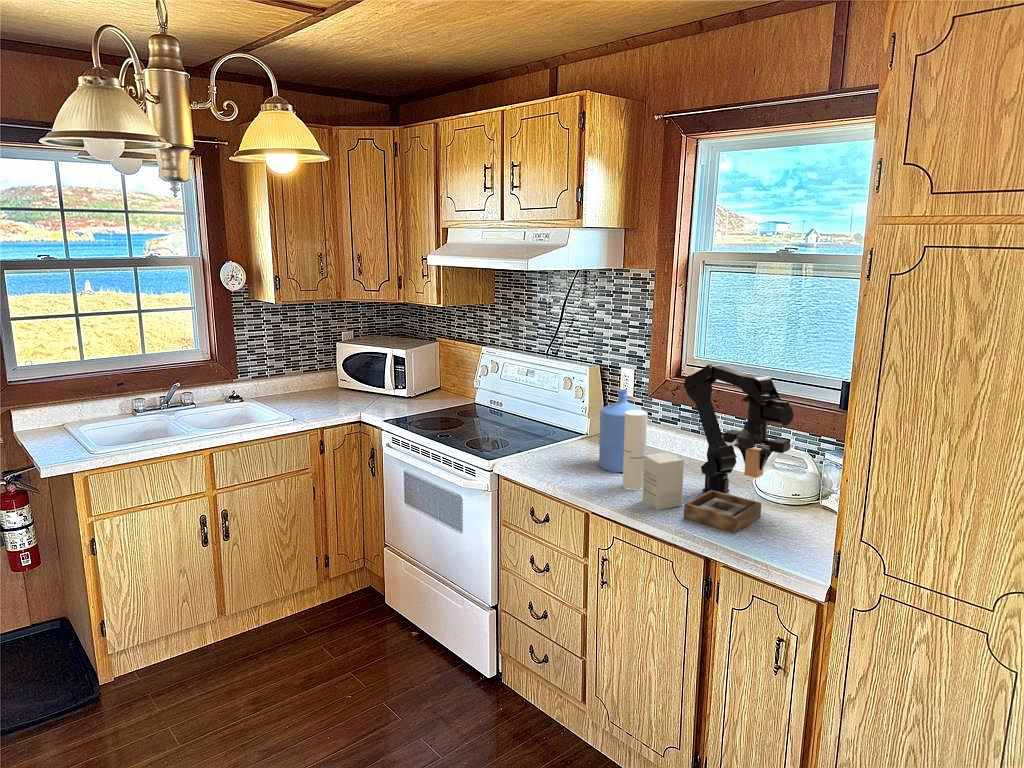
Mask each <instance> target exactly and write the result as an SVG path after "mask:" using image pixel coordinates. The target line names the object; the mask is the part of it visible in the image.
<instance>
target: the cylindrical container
mask: <svg viewBox="0 0 1024 768" xmlns="http://www.w3.org/2000/svg"><path fill="white" fill-rule="evenodd" d="M647 431H648V411H645V410H643V411H641V410H629V411H626V412H625V430H624V462H623V473H622V487H623V486H624V487H626V488H630V489H640V488H643V471H644V455H647V434H648V432H647ZM624 487H623V488H624ZM626 488H625V489H626ZM630 489H629V490H630Z"/></svg>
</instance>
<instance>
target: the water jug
mask: <svg viewBox="0 0 1024 768" xmlns="http://www.w3.org/2000/svg"><path fill="white" fill-rule="evenodd" d="M617 399H618V400H617V401H616V402H613V403H611V404H608V405H606V406H603V407H602V408H601V409H600V414H599V439H598V441H599V443H598V444H599V453H598V454H599V456H598V466H599V467H600V468H601V469H602V468H603V469H602V470H604V469H605V470H604V471H607V470H608V471H607V472H610V471H613V472H612V473H616V472H623V462H624V430H625V412H626V411H629V410H641V411H644V409H643V408H641V407H639V406H637V405H635V404H633V403H631V402H629V401H628V390H627V389H618V394H617Z"/></svg>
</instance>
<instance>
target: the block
mask: <svg viewBox="0 0 1024 768" xmlns="http://www.w3.org/2000/svg"><path fill="white" fill-rule="evenodd" d="M761 449H762V448H759V447H755V446H754V447H753V448H748V449H746V457H745V463H744V472H743V473H744V474H743V475H744V476H746V477H747V476H748V477H750V478H751V477H752V478H755V479H759V478H760V477H762V476H763V475H764V468H763V469H762V470H760V459H761V452H760V450H761Z"/></svg>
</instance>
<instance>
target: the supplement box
mask: <svg viewBox="0 0 1024 768" xmlns="http://www.w3.org/2000/svg"><path fill="white" fill-rule="evenodd" d="M684 463H685V461H684V459H683V458H681V457H679V456H677V455H675V454H673V453H671V452H668V451H666V452H660V453H659V452H658V453H651V454H646V455H644V471H643V489H642V501H643V502H644V501H645V502H644V503H646V502H647V503H648V504H647V503H646V504H647V505H649V506H650V505H651V507H652V508H654V509H655V510H657V511H661V510H665V509H666V510H667V509H670V508H677V507H678V506H679V507H682V506H683V493H684V492H683V491H684V490H683V489H684V488H683V485H684V465H685V464H684ZM660 509H661V510H660Z"/></svg>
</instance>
